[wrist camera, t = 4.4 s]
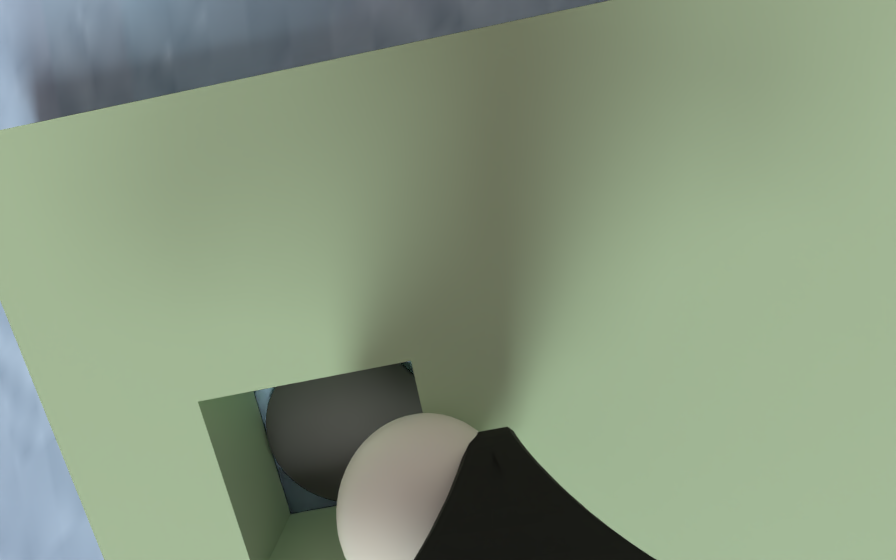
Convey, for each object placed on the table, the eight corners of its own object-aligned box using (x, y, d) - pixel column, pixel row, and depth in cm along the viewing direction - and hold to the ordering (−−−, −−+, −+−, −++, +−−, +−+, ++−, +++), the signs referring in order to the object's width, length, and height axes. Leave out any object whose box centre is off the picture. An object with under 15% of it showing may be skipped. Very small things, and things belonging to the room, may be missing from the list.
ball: (346, 522, 7) (302, 422, 10) (391, 707, 7) (337, 560, 10) (540, 429, 8) (449, 369, 11) (560, 592, 9) (470, 493, 12)
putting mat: (822, -12, 11) (928, -68, 9) (843, 598, 15) (923, 680, 12) (42, 152, 12) (-63, 143, 9) (239, 701, 15) (200, 798, 13)
